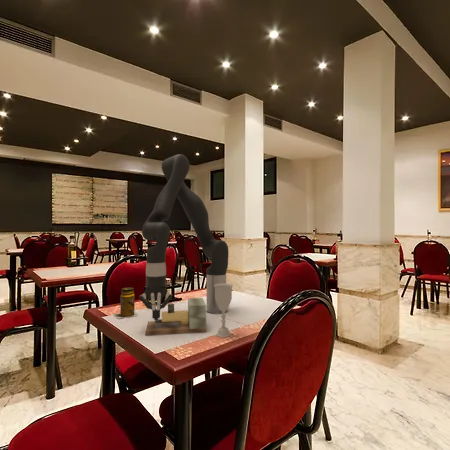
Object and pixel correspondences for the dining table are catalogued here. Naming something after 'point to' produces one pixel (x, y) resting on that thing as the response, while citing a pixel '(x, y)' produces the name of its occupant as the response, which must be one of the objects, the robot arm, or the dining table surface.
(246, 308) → the dining table surface
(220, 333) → the chalice
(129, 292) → the condiment
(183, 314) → the tan box
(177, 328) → the brown board with blocks
